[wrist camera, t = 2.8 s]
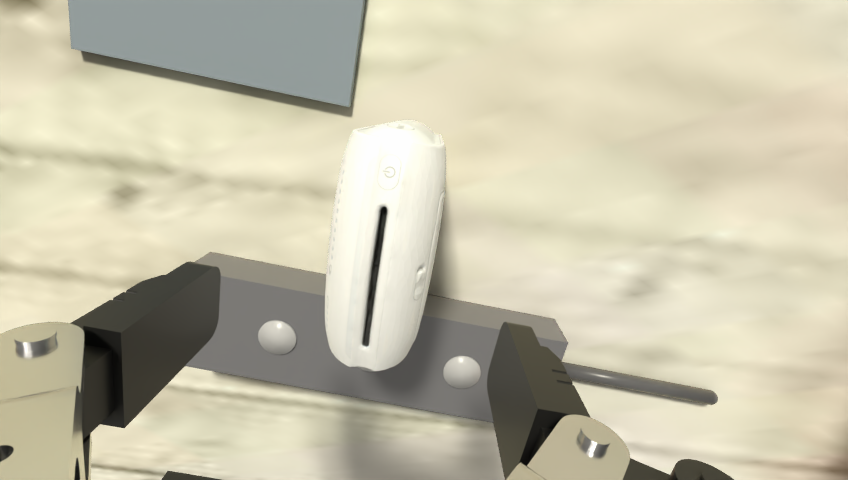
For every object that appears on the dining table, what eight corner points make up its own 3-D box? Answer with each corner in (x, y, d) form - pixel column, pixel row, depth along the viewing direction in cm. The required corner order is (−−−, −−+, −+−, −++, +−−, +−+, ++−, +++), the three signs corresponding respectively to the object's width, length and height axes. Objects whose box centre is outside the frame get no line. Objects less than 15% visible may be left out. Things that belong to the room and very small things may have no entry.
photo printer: (378, 111, 24) (325, 114, 12) (449, 124, 24) (462, 138, 13) (358, 268, 27) (301, 388, 16) (421, 279, 28) (410, 405, 16)
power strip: (210, 248, 27) (178, 268, 24) (733, 350, 29) (774, 383, 25) (207, 340, 29) (177, 371, 26) (692, 431, 31) (724, 471, 27)
